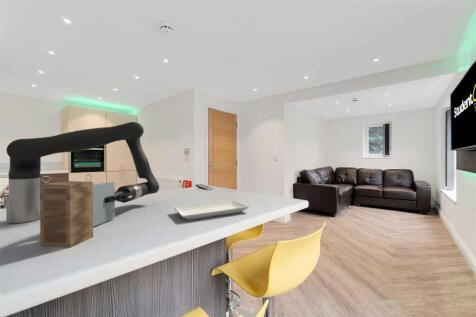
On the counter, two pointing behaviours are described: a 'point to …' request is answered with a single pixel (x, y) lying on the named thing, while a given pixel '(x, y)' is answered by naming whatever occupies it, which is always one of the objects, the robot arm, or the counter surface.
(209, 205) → the tray
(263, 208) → the counter surface
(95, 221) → the door
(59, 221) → the cabinet
